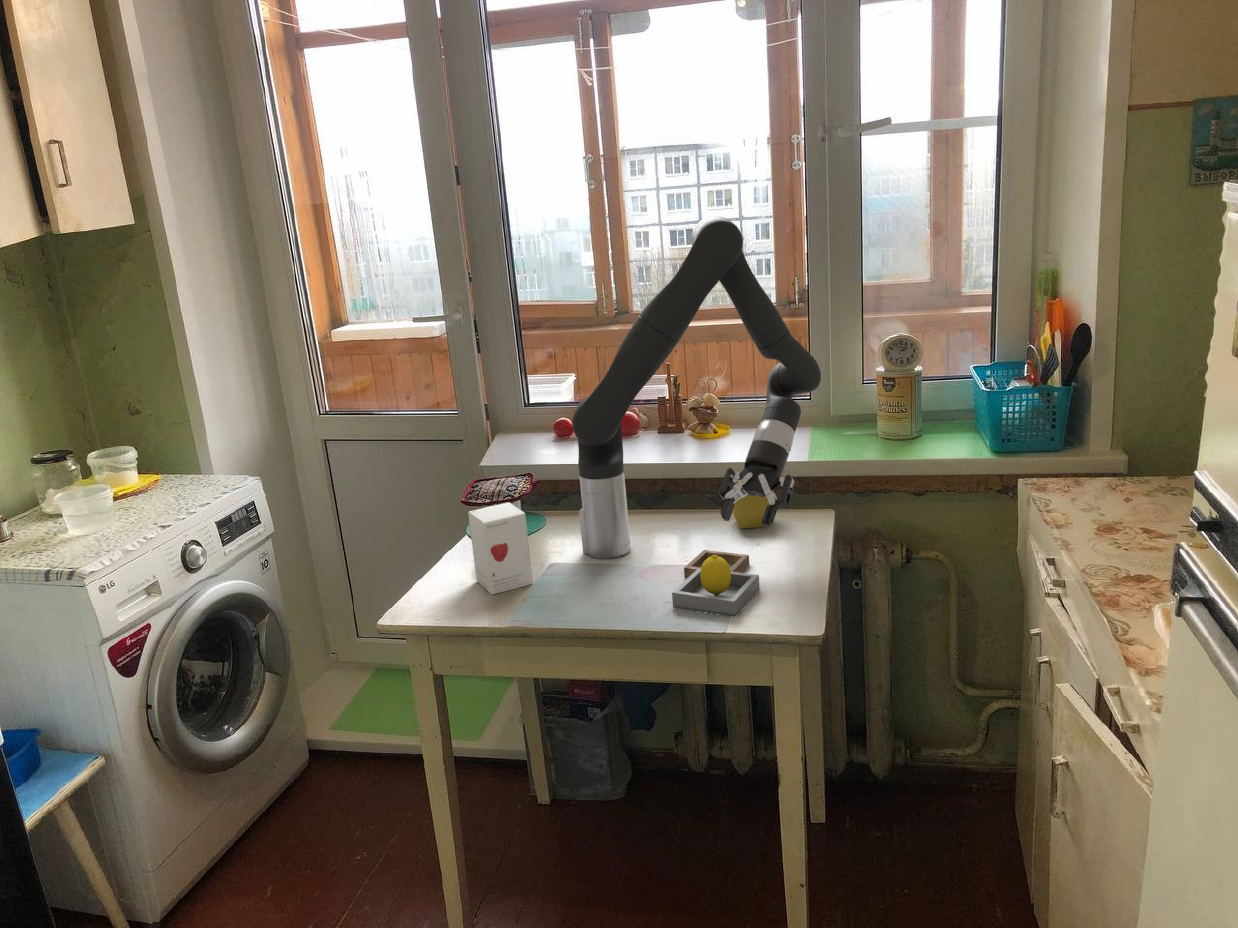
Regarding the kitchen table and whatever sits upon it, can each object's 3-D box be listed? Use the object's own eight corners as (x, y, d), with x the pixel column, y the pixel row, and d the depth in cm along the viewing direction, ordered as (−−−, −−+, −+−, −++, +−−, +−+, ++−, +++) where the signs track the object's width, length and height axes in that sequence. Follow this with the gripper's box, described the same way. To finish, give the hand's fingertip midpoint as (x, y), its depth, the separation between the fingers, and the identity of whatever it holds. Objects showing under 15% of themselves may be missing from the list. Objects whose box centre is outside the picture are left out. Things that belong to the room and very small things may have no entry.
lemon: (730, 602, 172) (728, 561, 170) (699, 602, 173) (697, 561, 171) (733, 589, 177) (731, 549, 175) (703, 589, 179) (700, 549, 176)
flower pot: (773, 530, 206) (772, 490, 204) (733, 533, 207) (731, 493, 204) (768, 516, 215) (766, 478, 212) (729, 519, 215) (726, 481, 213)
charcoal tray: (673, 607, 173) (671, 592, 172) (700, 582, 183) (699, 567, 182) (735, 617, 168) (734, 601, 167) (759, 590, 178) (758, 575, 177)
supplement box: (491, 596, 185) (481, 523, 181) (475, 581, 193) (466, 510, 189) (534, 584, 189) (526, 512, 185) (517, 570, 197) (509, 500, 193)
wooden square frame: (684, 577, 186) (683, 567, 186) (704, 559, 194) (703, 549, 193) (730, 583, 181) (730, 573, 181) (749, 564, 189) (748, 554, 189)
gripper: (730, 435, 188) (704, 508, 183) (797, 441, 180) (771, 518, 175) (745, 454, 194) (719, 525, 188) (810, 461, 186) (785, 536, 180)
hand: (744, 522), depth 181 cm, fingers open, 8 cm apart
